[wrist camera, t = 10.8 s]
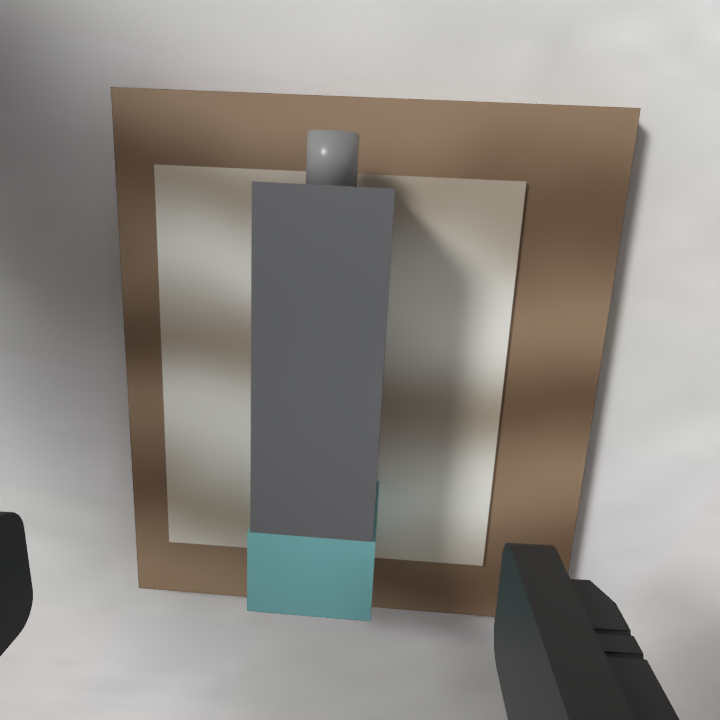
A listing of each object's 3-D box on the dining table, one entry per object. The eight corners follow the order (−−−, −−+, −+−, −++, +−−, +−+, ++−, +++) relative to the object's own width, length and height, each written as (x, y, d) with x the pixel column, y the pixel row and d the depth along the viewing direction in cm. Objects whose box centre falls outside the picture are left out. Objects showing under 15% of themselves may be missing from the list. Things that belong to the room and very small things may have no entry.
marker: (279, 137, 20) (248, 119, 16) (401, 143, 20) (402, 127, 16) (273, 540, 24) (246, 611, 20) (375, 548, 24) (370, 621, 20)
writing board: (123, 92, 21) (108, 85, 20) (629, 112, 21) (642, 107, 19) (148, 573, 26) (137, 591, 25) (554, 606, 26) (561, 625, 24)
